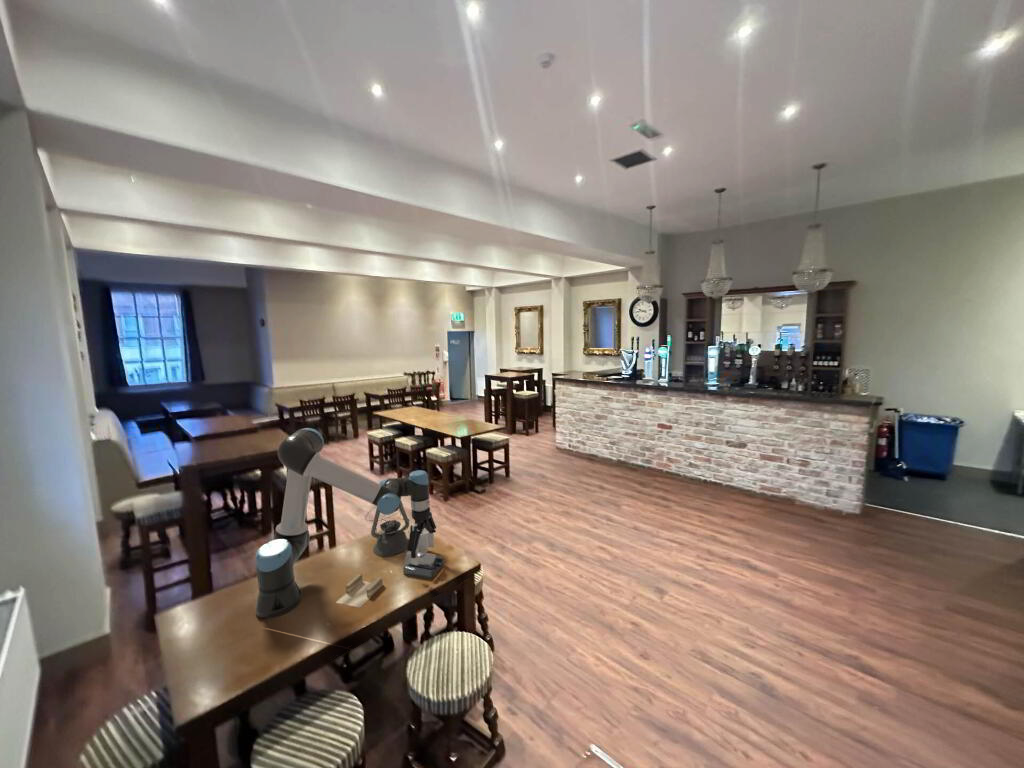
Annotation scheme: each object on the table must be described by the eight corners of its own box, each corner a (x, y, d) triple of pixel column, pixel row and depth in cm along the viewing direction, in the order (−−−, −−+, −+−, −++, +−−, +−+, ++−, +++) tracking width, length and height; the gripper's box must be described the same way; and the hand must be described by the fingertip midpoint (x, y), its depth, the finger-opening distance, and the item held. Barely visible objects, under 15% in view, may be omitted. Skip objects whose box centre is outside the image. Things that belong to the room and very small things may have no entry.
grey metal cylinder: (430, 572, 168) (429, 559, 167) (405, 568, 172) (404, 555, 171) (437, 563, 174) (436, 551, 173) (412, 559, 177) (411, 547, 176)
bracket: (335, 603, 152) (334, 595, 152) (359, 581, 166) (358, 573, 165) (360, 608, 149) (359, 600, 149) (382, 585, 162) (382, 577, 162)
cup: (426, 559, 181) (425, 536, 179) (405, 557, 183) (404, 534, 181) (434, 547, 190) (433, 525, 189) (415, 545, 192) (413, 523, 191)
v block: (403, 575, 169) (403, 567, 169) (417, 560, 180) (417, 553, 179) (431, 580, 165) (431, 572, 165) (444, 564, 176) (443, 557, 176)
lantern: (393, 531, 206) (389, 475, 202) (419, 543, 194) (416, 483, 190) (362, 547, 192) (357, 487, 188) (388, 560, 180) (383, 497, 176)
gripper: (413, 522, 156) (416, 573, 159) (442, 496, 179) (444, 541, 182) (396, 520, 158) (399, 570, 161) (427, 495, 182) (429, 539, 185)
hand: (423, 555), depth 172 cm, fingers open, 13 cm apart
